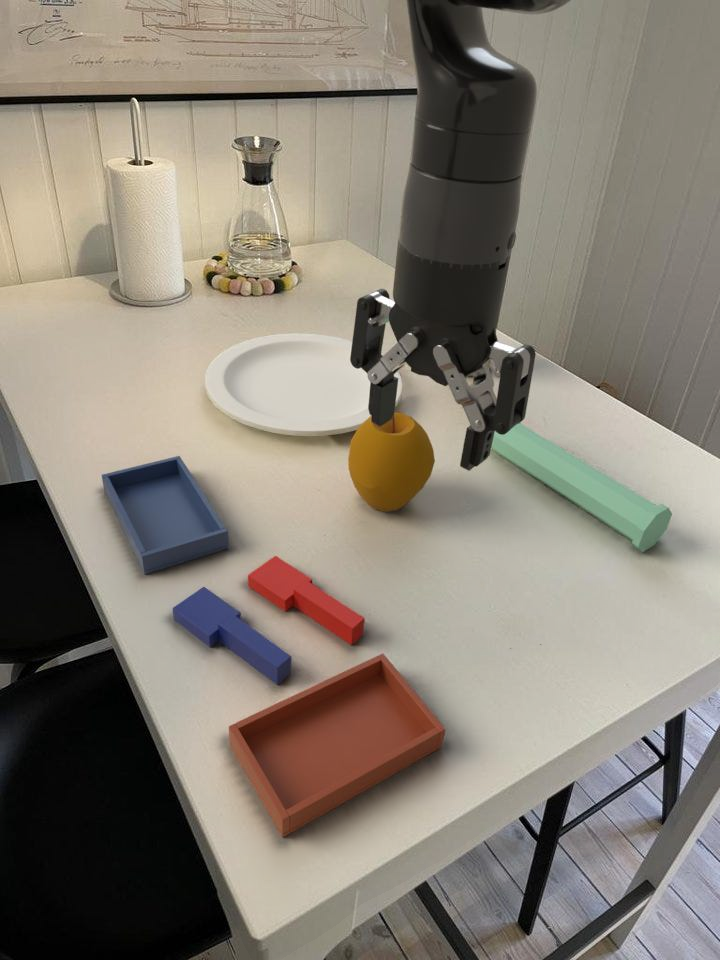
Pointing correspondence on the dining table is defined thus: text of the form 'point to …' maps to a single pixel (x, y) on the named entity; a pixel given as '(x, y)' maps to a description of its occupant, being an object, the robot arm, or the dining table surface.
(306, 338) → the plate
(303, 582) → the red spoon
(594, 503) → the green octagonal rod
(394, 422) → the apple
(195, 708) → the dining table surface
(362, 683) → the red tray
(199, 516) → the blue tray
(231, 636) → the blue spoon
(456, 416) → the dining table surface
